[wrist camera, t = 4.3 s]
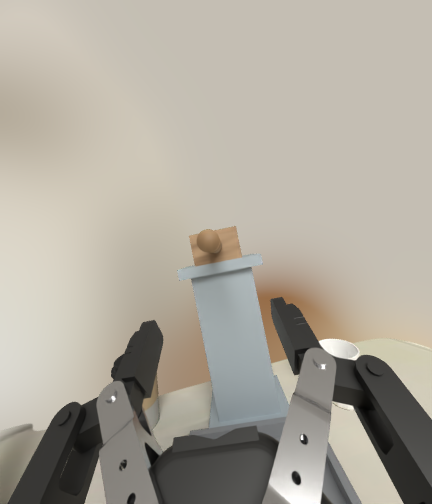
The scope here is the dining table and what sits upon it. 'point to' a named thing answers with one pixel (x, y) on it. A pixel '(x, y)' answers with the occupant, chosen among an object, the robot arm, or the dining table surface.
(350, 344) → the white cup
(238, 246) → the mallet
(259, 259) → the pedestal
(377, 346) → the dining table surface
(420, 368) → the dining table surface
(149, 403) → the coffee cup
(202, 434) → the tray
